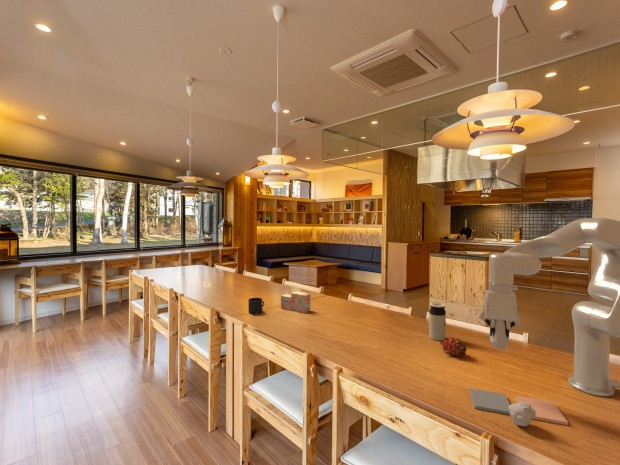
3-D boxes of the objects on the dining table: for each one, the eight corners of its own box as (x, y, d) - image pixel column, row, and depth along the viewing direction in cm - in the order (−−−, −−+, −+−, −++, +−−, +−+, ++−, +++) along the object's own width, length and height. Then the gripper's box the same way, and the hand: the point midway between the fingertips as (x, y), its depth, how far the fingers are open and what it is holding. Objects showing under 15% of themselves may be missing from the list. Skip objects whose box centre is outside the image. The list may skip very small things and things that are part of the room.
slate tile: (505, 396, 107) (505, 394, 107) (513, 415, 97) (513, 412, 97) (469, 391, 111) (469, 388, 111) (474, 408, 101) (474, 405, 101)
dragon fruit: (467, 363, 136) (441, 358, 145) (472, 347, 141) (447, 343, 150) (460, 350, 134) (434, 346, 143) (465, 335, 138) (440, 332, 148)
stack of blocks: (280, 308, 220) (280, 291, 220) (286, 306, 225) (285, 289, 225) (305, 313, 209) (305, 295, 208) (310, 310, 214) (310, 293, 214)
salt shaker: (491, 342, 115) (492, 308, 114) (509, 346, 111) (510, 311, 110) (488, 347, 110) (489, 311, 110) (507, 351, 106) (508, 314, 106)
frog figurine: (534, 435, 88) (534, 411, 88) (505, 425, 93) (506, 402, 92) (536, 425, 93) (537, 402, 92) (509, 415, 97) (509, 394, 97)
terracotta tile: (553, 404, 103) (553, 401, 103) (567, 425, 92) (567, 422, 92) (514, 398, 106) (515, 395, 106) (524, 417, 96) (524, 414, 96)
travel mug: (426, 338, 162) (427, 304, 161) (432, 334, 167) (432, 301, 167) (442, 342, 156) (442, 307, 156) (447, 338, 162) (448, 304, 161)
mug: (268, 311, 213) (268, 298, 213) (253, 315, 205) (253, 301, 204) (260, 308, 220) (260, 296, 219) (245, 312, 211) (245, 299, 211)
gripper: (524, 287, 110) (523, 338, 111) (473, 284, 116) (472, 332, 117) (530, 292, 103) (529, 346, 104) (476, 288, 109) (475, 339, 110)
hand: (499, 338), depth 110 cm, fingers closed on salt shaker, 3 cm apart
